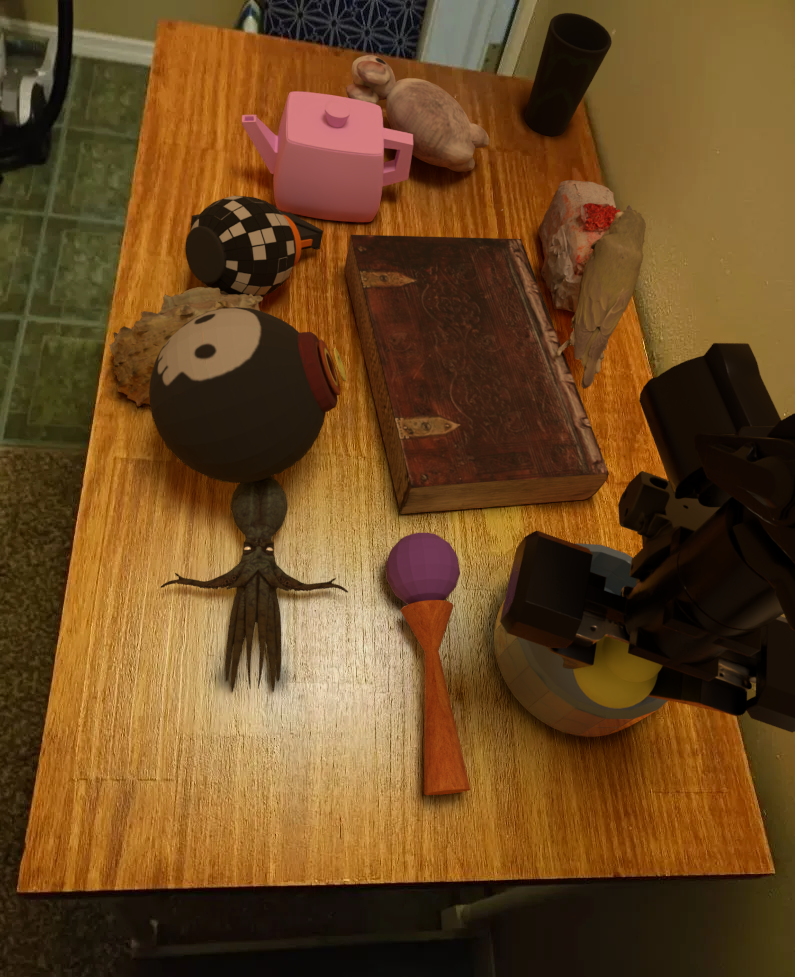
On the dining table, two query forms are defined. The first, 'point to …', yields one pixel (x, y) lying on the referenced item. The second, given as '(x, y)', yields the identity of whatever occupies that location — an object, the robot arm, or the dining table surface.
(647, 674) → the pear toy
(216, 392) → the toy
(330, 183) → the teapot
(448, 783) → the kendama
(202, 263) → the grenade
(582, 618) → the robot arm
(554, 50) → the cup
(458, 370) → the antique book
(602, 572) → the bowl
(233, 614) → the figurine
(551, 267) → the food item
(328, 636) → the dining table surface
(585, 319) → the decorative bird model
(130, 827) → the dining table surface
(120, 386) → the seashell
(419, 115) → the toy
